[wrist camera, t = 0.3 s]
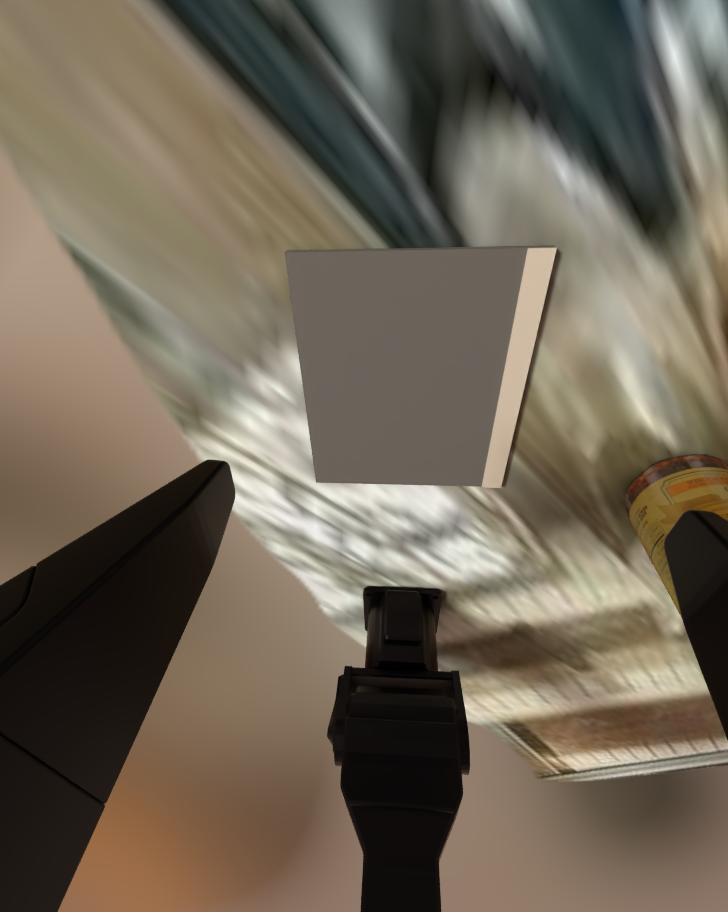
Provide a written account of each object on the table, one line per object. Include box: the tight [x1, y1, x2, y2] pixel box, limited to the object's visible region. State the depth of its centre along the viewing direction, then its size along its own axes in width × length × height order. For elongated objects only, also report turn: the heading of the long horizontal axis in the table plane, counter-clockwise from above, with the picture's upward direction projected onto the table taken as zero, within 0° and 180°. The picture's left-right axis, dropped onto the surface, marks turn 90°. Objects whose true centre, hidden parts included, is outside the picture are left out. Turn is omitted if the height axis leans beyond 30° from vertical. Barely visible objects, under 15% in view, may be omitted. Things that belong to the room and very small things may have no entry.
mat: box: [285, 246, 557, 488], centre depth 23 cm, size 14×12×1 cm
